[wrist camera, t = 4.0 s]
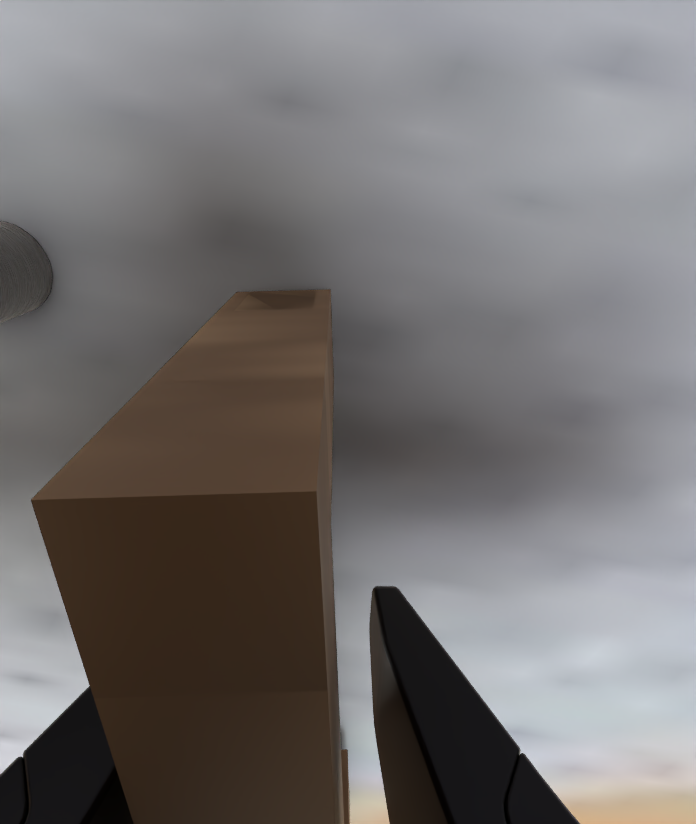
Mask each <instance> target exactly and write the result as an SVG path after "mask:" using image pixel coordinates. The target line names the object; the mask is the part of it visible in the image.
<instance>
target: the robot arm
mask: <svg viewBox="0 0 696 824" xmlns="http://www.w3.org/2000/svg"><path fill="white" fill-rule="evenodd" d="M370 654H371V675H372V695H373V714H374V726H375V734H376V741H377V747H378V754H379V760H380V766H381V772H382V778H383V784H384V791H385V797H386V803H387V809H388V815H389V822H390V824H580V823H579V822H578V821H577V820H576V818H575V817H574V816H573V815H572V814H571V813H570V811H569V810H568V809H567V808H566V806H565V805H564V804H563V803H562V801H561V800H560V799H559V798H558V796H557V795H556V794H555V793H554V791H553V790H552V789H551V788H550V786H549V785H548V784H547V783H546V781H545V780H544V779H543V778H542V776H541V775H540V774H539V773H538V771H537V770H536V769H535V767H534V766H533V765H532V763H531V762H530V761H529V759H528V758H527V757H526V755H525V754H523V753H521V754H520V748H519V746H518V745H517V744H516V743H515V741H514V740H513V739H512V737H511V736H510V735H509V733H508V732H507V731H506V729H505V728H504V727H503V725H502V724H501V723H500V722H499V720H498V719H497V718H496V716H495V715H494V714H493V712H492V711H491V710H490V708H489V707H488V706H487V704H486V703H485V702H484V701H483V699H482V698H481V697H480V695H479V694H478V693H477V691H476V690H475V689H474V687H473V686H472V685H471V683H470V682H469V681H468V680H467V678H466V677H465V676H464V674H463V673H462V672H461V670H460V669H459V668H458V666H457V665H456V664H455V662H454V661H453V660H452V659H451V657H450V656H449V655H448V653H447V652H446V651H445V649H444V648H443V647H442V645H441V644H440V643H439V641H438V640H437V639H436V638H435V636H434V635H433V634H432V632H431V631H430V630H429V628H428V627H427V626H426V624H425V623H424V622H423V620H422V619H421V618H420V617H419V615H418V614H417V613H416V611H415V610H414V609H413V607H412V606H411V605H410V603H409V602H408V601H407V600H406V598H405V597H404V596H403V594H402V593H401V592H400V590H399V589H398V588H397V587H394V586H376V587H374V588H373V591H372V600H371V613H370ZM0 824H134V823H133V820H132V817H131V814H130V811H129V807H128V804H127V801H126V798H125V795H124V792H123V789H122V785H121V782H120V779H119V776H118V773H117V770H116V766H115V763H114V760H113V757H112V754H111V751H110V748H109V744H108V741H107V738H106V735H105V732H104V729H103V726H102V722H101V719H100V716H99V713H98V710H97V707H96V703H95V700H94V697H93V694H92V691H91V688H90V686H89V687H88V688H87V689H86V690H85V691H84V692H83V693H82V694H81V695H80V696H79V697H78V698H77V699H76V700H75V701H74V702H73V703H72V704H71V705H70V706H69V707H68V708H67V709H66V710H65V711H64V712H63V713H62V714H61V715H60V716H59V717H58V718H57V719H56V720H55V721H54V722H53V723H52V724H51V725H50V726H49V727H48V728H47V729H46V730H45V731H44V732H43V733H42V734H41V735H40V736H39V737H38V738H37V739H36V740H35V741H34V742H33V743H32V744H31V745H30V746H29V747H28V748H27V749H26V750H25V751H24V753H23V757H18V758H17V759H16V760H15V761H14V762H13V763H12V764H11V765H10V766H9V767H8V768H7V769H6V770H5V771H4V772H3V773H2V774H1V775H0Z"/></svg>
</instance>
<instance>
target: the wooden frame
mask: <svg viewBox="0 0 696 824" xmlns="http://www.w3.org/2000/svg"><path fill="white" fill-rule="evenodd" d="M333 394H334V369H333V342H332V314H331V289H326V290H290V291H253V292H236V293H235V294H234V295H233V296H232V297H231V298H230V299H229V300H228V301H227V302H226V303H225V304H224V305H223V306H222V307H221V308H220V309H219V310H218V311H217V312H216V313H215V315H214V316H213V317H212V318H211V319H210V320H209V321H208V322H207V323H206V324H205V325H204V326H203V327H202V328H201V329H200V330H199V331H198V332H197V333H196V334H195V335H194V336H193V337H192V338H191V339H190V340H189V341H188V342H187V343H186V344H185V345H184V346H183V347H182V348H181V349H180V350H179V351H178V352H177V353H176V354H175V355H174V356H173V357H172V358H171V359H170V360H169V361H168V362H167V363H166V364H165V365H164V366H163V367H162V368H161V369H160V370H159V371H158V372H157V373H156V374H155V375H154V376H153V377H152V378H151V379H150V380H149V381H148V382H147V383H146V384H145V385H144V386H143V387H142V388H141V389H140V390H139V391H138V392H137V393H136V394H135V395H134V396H133V397H132V398H131V399H130V400H129V401H128V402H127V403H126V404H125V405H124V406H123V407H122V408H121V409H120V410H119V411H118V412H117V413H116V414H115V415H114V416H113V417H112V418H111V419H110V421H109V422H108V423H107V424H106V425H105V426H104V427H103V428H102V429H101V430H100V431H99V432H98V433H97V434H96V435H95V436H94V437H93V438H92V439H91V440H90V441H89V442H88V443H87V444H86V445H85V446H84V447H83V448H82V449H81V450H80V451H79V452H78V453H77V454H76V455H75V456H74V457H73V458H72V459H71V460H70V461H69V462H68V463H67V464H66V465H65V466H64V467H63V468H62V469H61V470H60V471H59V472H58V473H57V474H56V475H55V476H54V477H53V478H52V479H51V480H50V481H49V482H48V483H47V484H46V485H45V486H44V487H43V488H42V489H41V490H40V491H39V492H38V493H37V494H36V495H35V496H34V497H33V498H32V499H31V502H32V505H33V508H34V511H35V515H36V518H37V521H38V524H39V527H40V530H41V533H42V537H43V540H44V543H45V546H46V549H47V552H48V556H49V559H50V562H51V565H52V568H53V571H54V574H55V578H56V581H57V584H58V587H59V590H60V593H61V596H62V600H63V603H64V606H65V609H66V612H67V615H68V618H69V622H70V625H71V628H72V631H73V634H74V637H75V641H76V644H77V647H78V650H79V653H80V656H81V659H82V663H83V666H84V669H85V672H86V675H87V678H88V681H89V685H90V688H91V691H92V694H93V697H94V700H95V703H96V707H97V710H98V713H99V716H100V719H101V722H102V726H103V729H104V732H105V735H106V738H107V741H108V744H109V748H110V751H111V754H112V757H113V760H114V763H115V766H116V770H117V773H118V776H119V779H120V782H121V785H122V789H123V792H124V795H125V798H126V801H127V804H128V807H129V811H130V814H131V817H132V820H133V823H134V824H350V823H349V779H348V751H347V750H341V739H340V716H339V694H338V671H337V648H336V626H335V603H334V581H333V558H332V536H331V497H332V445H333Z"/></svg>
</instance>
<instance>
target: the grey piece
mask: <svg viewBox="0 0 696 824" xmlns="http://www.w3.org/2000/svg"><path fill="white" fill-rule="evenodd" d="M51 287H52V270H51V266H50V263H49V260H48V258H47V256H46V254H45V252H44V250H43V249H42V247H41V246H40V245H39V244H38V242H37V241H36V240H35V239H34V238H33V237H32V236H31V235H29V234H28V233H27V232H26V231H24V230H22V229H21V228H19V227H17V226H15V225H13V224H10V223H7V222H3V221H0V323H2V322H5V321H7V320H10V319H12V318H15V317H17V316H20V315H23V314H25V313H28V312H30V311H32V310H35V309H36V308H38V307H39V306H41V305H42V304H43V303H44V302H45V300H46V299H47V297H48V295H49V293H50V290H51ZM349 823H350V802H349Z"/></svg>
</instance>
